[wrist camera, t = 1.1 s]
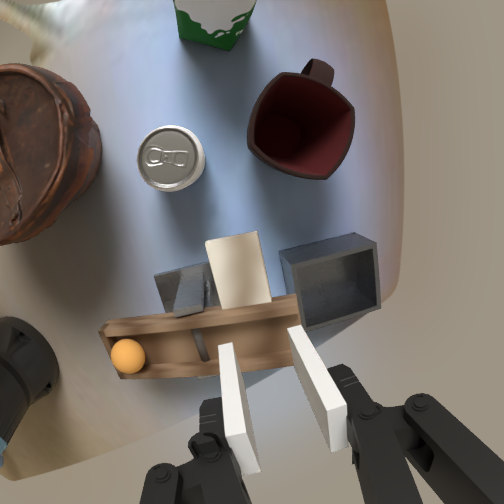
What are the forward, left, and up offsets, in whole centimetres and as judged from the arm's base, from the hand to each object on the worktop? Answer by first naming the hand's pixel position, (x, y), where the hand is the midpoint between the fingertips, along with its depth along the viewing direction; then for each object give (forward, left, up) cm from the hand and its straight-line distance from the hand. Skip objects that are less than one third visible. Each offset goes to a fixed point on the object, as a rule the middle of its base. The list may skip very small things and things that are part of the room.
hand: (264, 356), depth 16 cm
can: (-4, +12, -27) cm, 30 cm away
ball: (-14, -7, -18) cm, 24 cm away
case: (-20, +18, -27) cm, 38 cm away
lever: (-6, -4, -17) cm, 18 cm away
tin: (+12, -7, -27) cm, 30 cm away
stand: (-6, -7, -27) cm, 28 cm away
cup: (+10, +14, -27) cm, 32 cm away
